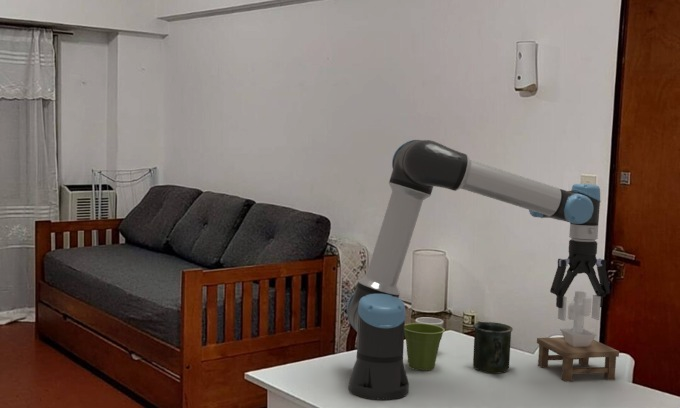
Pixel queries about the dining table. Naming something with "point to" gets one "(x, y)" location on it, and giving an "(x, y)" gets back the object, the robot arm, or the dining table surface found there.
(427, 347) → the plant pot
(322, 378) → the dining table surface
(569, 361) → the walnut stool
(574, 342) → the figurine
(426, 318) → the dixie cup
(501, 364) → the mug
